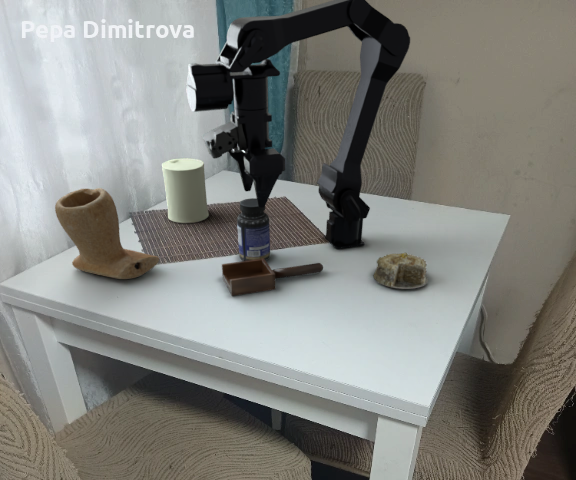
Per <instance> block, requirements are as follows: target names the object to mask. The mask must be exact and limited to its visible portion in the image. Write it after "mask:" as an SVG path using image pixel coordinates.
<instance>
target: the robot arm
mask: <svg viewBox="0 0 576 480" xmlns="http://www.w3.org/2000/svg"><path fill="white" fill-rule="evenodd" d="M346 27H347V28H348V30H349V31H350V32H351V34H352V35H353V36H354V37H355V38H356V39H357V40H359V42H361V46H360V51H359V63H360V79H359V82H358V85H357V88H356V92H355V95H354V98H353V102H352V105H351V109H350V111H349V115H348V118H347V122H346V125H345V128H344V132H343V135H342V139H341V141H340V144H339V149H338V152H337V154H336V157H335V158H334V159H333V160H332V161H331V162H330V164H328V163H326V162H324V163H323V164H322V167H321V171H320V172H321V173H320V176H319V179H318V180H317V181H316V184H317V185H318V194H319V196H320V198H321V199H322V200H323V201H324V202H325V206H326V208H327V209H330V211H329V212H328V219H326V225H325V227H326V229H325V235H324V239H325V240H326V241H327V242H328V243H329V244H330V245H331V246H332V247H333V248H334V249H335V250H341V249H349V248H355V247H363V246H365V245H366V243H365V242H366V241H364V240H363V239H362V238H363V228H364V227H363V226H364V220H365V219H367V217H368V215H369V213H370V209H371V207H370V206H369V205H368V204H367V203H366V202H365V200H363V198H362V197H361V192H362V191H361V189H362V185H363V178H362V162H363V160H364V159H363V158H364V156H365V152H366V149H367V146H368V144H369V140H370V137H371V134H372V131H373V128H374V125H375V122H376V119H377V116H378V112H379V110H380V106H381V103H382V100H383V98H384V94H385V91H386V88H387V85H388V84H389V82H390V81H391V80H392V78H394V76H395V75H396V73H398V71H399V70H400V68H401V66H402V64H403V62H404V60H405V58H406V56H407V53H408V52H409V49H410V45H411V36H410V34H409V31H408V29H407V27H406V26H405V25H404V24H402V23H397V22H393V21H392V20H391V19H390V18H389V17H387V16H386V15H385V14H384V13H382V12H380V11H379V10H378V9H376V8H375V7H374V6H372V5H371V4H370V3H369V2H368V1H367V0H330V1H326V2H323V3H320V4H316V5H311V6H309V7H306V8H302V9H298V10H295V11H292V12H287V13H285V14H282V15H272V16H271V15H267V16H266V15H265V16H261V15H259V16H246V17H245V16H243V17H238V18H236V19H234V20H233V21H232V22H231V23H230V24H229V28H228V30H227V33H226V42H225V43H224V45H223V47H222V49H221V50H220V53H219V54H218V56H217V57H216V59H215V63H202V64H201V63H188V65H187V66H188V67H187V68H188V73H187V78H186V84H185V90H186V98H187V103H188V105H189V108H190V111H191V112H192V113H196V112H198V113H199V112H207V111H208V112H209V111H220V110H227V109H228V108H229V106H230V105H232V104H233V107H234V108H233V109H234V110H233V111H231V113H230V115H229V117H230V119H229V120H230V121H229V122H226V123H224V124H221V125H219V126H217V127H215V128H213V129H210V130H209V131H207V132H204V133H203V134H202V135H201V138H202V141H203V142H204V144H205V147H206V149H207V152H208V154H209V155H210V156H211V158H212V159H219V158H222V156H223V155H225V154H227V153H228V154H229V156H230V157H231V158H232V159H234V161H235V163H236V165H237V169H238V172H239V175H240V179H241V183H242V186H243V190H244V191H245V192H250V191H251V190H252V187H253V186H254V187H253V188H254V193H255V198H257V203H258V207H259V208H261V207H265V208H266V205H267V202H268V200H269V199H270V196H271V194H272V192H273V189H274V187H275V185H276V184H277V181H278V179H279V177H280V175H282V174H283V172H285V171H286V158H285V157H284V156H283V155H282V154H281V153H280V152H279V151H278V150H277V149H275V148H273V140H272V139H270V138H269V137H270V135H269V131H270V130H269V123H270V122H272V121H273V115H272V114H271V113H270V112H269V85H268V84H269V82H268V81H269V80H268V79H269V78H268V77H270V78H271V77H280V75H281V72H280V70H279V69H278V68H277V67H276V66H275V65H274V64H273V62H272V60H271V59H269V58H271V57H273V56H275V55H277V54H278V53H280V52H281V51H282V50H283V49H285V48H286V47H287V46H289V45H291V44H293V43H297V42H300V41H303V40H306V39H310V38H313V37H316V36H319V35H324V34H326V33H329V32H332V31H336V30H340V29H343V28H346Z"/></svg>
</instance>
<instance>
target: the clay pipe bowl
mask: <svg viewBox="0 0 576 480" xmlns="http://www.w3.org/2000/svg"><path fill="white" fill-rule="evenodd" d="M54 212H55V216H56V218H57V220H58V222H59V224H60V226H61V228H62V229H63V230H64V232H65V233H66V235H67V236H68V237H69V239H70V240H71V242H73V244H74V245H75V246H76V249H77V250H78V253H79V255H77V256H76V257H75V258H74V259H73V261H72V262H71V265H72V266H73V268H75V269H77V270H79V271H82V272H85V273H89V274H92V275H93V274H94V275H97V276H103V277H107V278H112V279H118V280H128V279H135V278H139V277H141V276H143V275H145V274H147V273H148V272H149V271H151V270H152V269H153V268H154V267H156V265H157V264H158V263H159V261H160V258H159V256H156V255H153V254H148V253H144V252H140V251H137V250H132V249H127V248H124V247H123V246H122V243H121V235H120V219H119V214H118V211H117V206H116V204H115V200H114V199H113V197H112V195H111V194H110V193H109V192H108V191H107V190H106V189H104V188H102V187H96V188H94V189H93V188H80V189H76V190H73V191H71V192H68V193H66V194H65V195H63V196H61V197H60V198H58V199H57V200H56V202H55V206H54Z"/></svg>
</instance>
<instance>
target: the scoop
mask: <svg viewBox="0 0 576 480" xmlns="http://www.w3.org/2000/svg"><path fill="white" fill-rule="evenodd" d="M323 270H324V265H323V264H322V263H321V262H314V263H308V264H301V265H300V264H299V265H293V266H288V267H281V268H274V269H272V267H271V266H270V265H269V263H268V262H267V260H266V261H265V259H264V258H262V259H255V260H248V261H243V260H240V261H235V262H234V261H233V262H228V263H221V274H222V276H221V277H222V280H223V282H224V284H225V286H226V288H227V290H228V291H229V293H230V295H231V297H235V296H242V295H248V294H255V293H256V294H257V293H262V292H269V291H273V290H276V280H280V279H285V278H287V279H288V278H294V277H300V276H306V275H312V274H319V273H322V272H323Z"/></svg>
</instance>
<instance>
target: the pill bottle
mask: <svg viewBox="0 0 576 480" xmlns="http://www.w3.org/2000/svg"><path fill="white" fill-rule="evenodd" d="M239 210H240V211H241V213H239V214H238V216H237V218H236V225H237V226H236V227H237V239H238V254H239V255H238V256H239V259H240V261H248V260H255V259H262V258H264V259H265V261H266V262H267V261H268V260H269V259H270V258H271V235H270V234H271V233H270V217H269V215H268V214H267V212H266V211H265V210H266V206H265V207H261V208H259V207H258V203H257V198H256V197H255V198H254V197H253V198H251V197H250V198H245V199H242V200H241V201H240V202H239Z"/></svg>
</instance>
